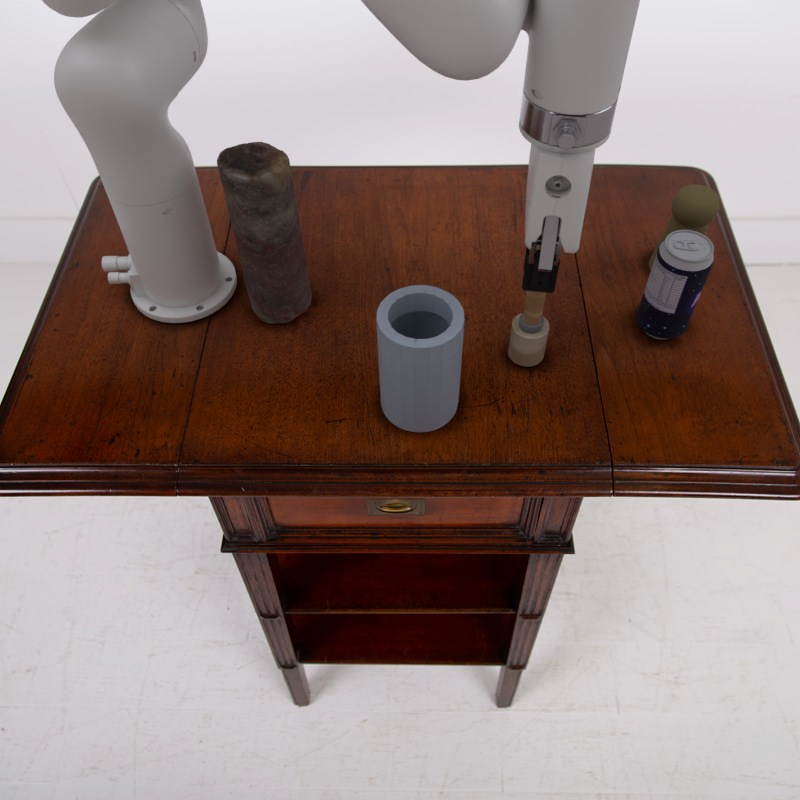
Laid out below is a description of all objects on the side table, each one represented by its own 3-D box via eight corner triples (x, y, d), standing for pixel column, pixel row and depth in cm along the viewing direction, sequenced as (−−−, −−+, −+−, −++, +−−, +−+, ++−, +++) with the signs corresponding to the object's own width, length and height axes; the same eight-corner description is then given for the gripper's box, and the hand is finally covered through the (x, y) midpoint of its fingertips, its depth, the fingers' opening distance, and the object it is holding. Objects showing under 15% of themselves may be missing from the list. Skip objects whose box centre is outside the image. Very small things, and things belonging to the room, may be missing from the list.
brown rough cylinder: (244, 290, 92) (209, 144, 76) (302, 275, 93) (280, 128, 78) (259, 332, 87) (226, 186, 72) (320, 316, 89) (300, 169, 73)
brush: (543, 368, 83) (566, 252, 70) (506, 364, 83) (523, 247, 71) (544, 342, 85) (567, 224, 73) (509, 338, 86) (525, 221, 73)
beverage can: (685, 347, 85) (719, 266, 76) (634, 340, 86) (661, 259, 76) (684, 312, 89) (716, 230, 79) (634, 305, 89) (660, 224, 80)
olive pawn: (645, 277, 92) (669, 203, 84) (651, 246, 96) (675, 172, 87) (696, 288, 91) (726, 213, 82) (700, 256, 95) (729, 182, 86)
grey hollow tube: (380, 433, 78) (376, 348, 68) (381, 373, 83) (376, 285, 73) (460, 431, 78) (467, 346, 68) (455, 371, 83) (461, 284, 73)
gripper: (615, 173, 56) (574, 342, 71) (612, 65, 66) (577, 233, 80) (514, 164, 57) (494, 333, 72) (526, 59, 67) (506, 227, 81)
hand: (538, 279), depth 76 cm, fingers closed on brush, 2 cm apart
